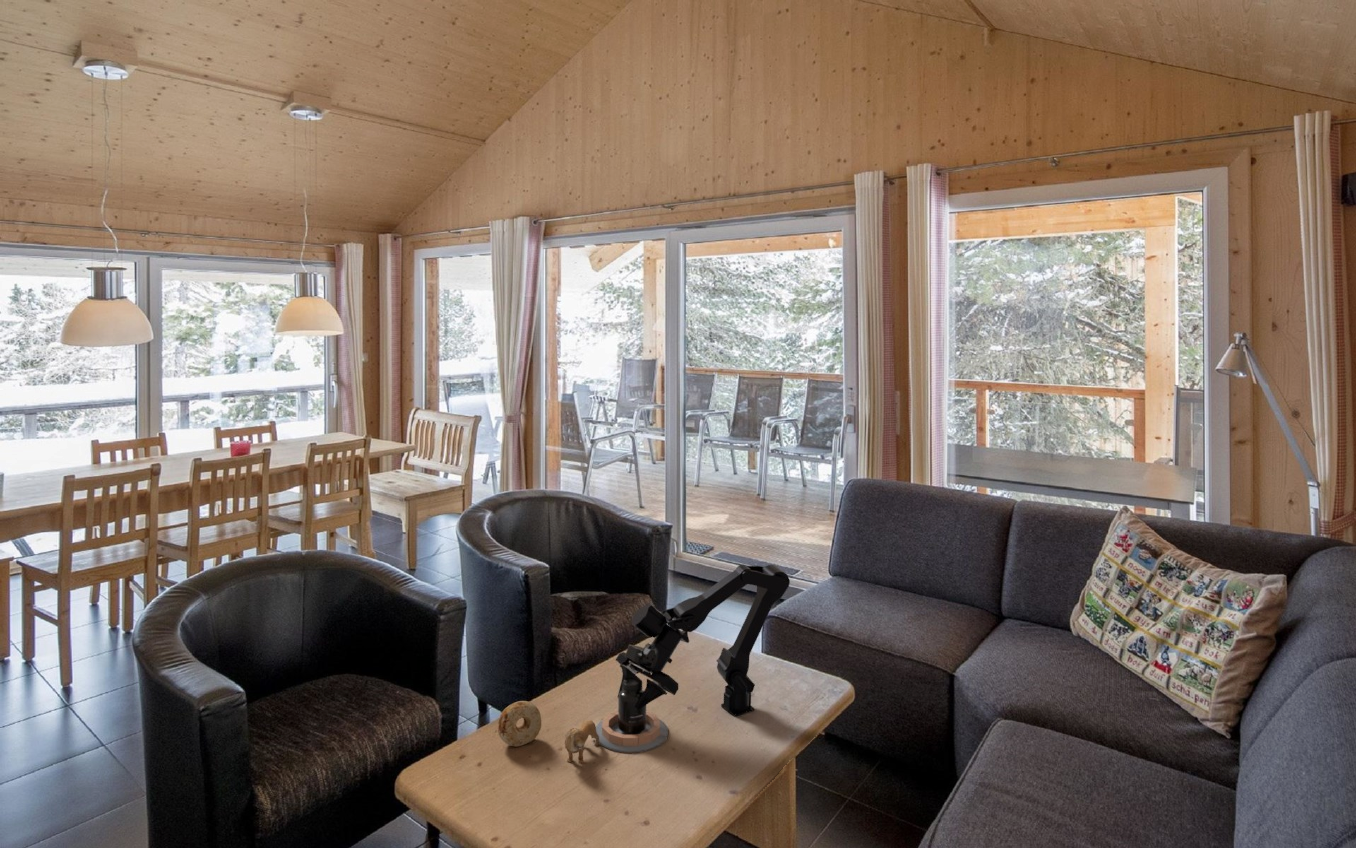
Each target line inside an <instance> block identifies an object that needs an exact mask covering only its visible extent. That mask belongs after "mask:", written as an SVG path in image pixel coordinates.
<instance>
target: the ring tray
mask: <svg viewBox="0 0 1356 848" xmlns="http://www.w3.org/2000/svg"><path fill="white" fill-rule="evenodd" d="M595 726H596V732H597V734H598V736H599V745H600V746H602V748H605V749H607V750H610V751H612V752H617V753H624V754H626V753H627V754H633V753H634V754H635V753H636V754H637V753H643V752H648V751H650V750H654V749H655V748H657V747H660V746H661V745H662V744H663V743H664V742H665V741H666V740H667V739H668V735H669V729H668V726H667V725H666V723H665V722H664V721H663V720H662V719H660V718H659V717H658V716H657V715H655V714H654V713H653V712H650V711H647V710H646V728H645V730H644V731H642V732H640V733H637V734H626V733H623V732H622V731H620V729H619V726H618V711H613V712H610V713H609V714H608V715H607V716H606V717H604V718H603V719H602V720H601V721H599V722H598V723H597V725H595Z"/></svg>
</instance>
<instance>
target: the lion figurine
mask: <svg viewBox="0 0 1356 848" xmlns="http://www.w3.org/2000/svg"><path fill="white" fill-rule="evenodd" d="M596 726H597V725H596V724H595V722H594V721H592V720H586V721H583V722H582V723H581V725H580V726H579V728H575V727H573V728H570V729H569V730H568V731H567V732H566V734H565V740H564V748H565V749H566V750H567V753H568V758H567V759H566V762H567V763H572V762H573V760H574V756H573V754H578V759H577V760H578V763H579V764H583V763H584V762H585V760H584V747H585V744H586V742H587V741H588V738H589V736H591V739H594V740H595V741H594V743H593V744H594V746H599V745H600V744H599V736H598V734H597V732H596Z"/></svg>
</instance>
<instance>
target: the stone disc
mask: <svg viewBox="0 0 1356 848" xmlns="http://www.w3.org/2000/svg"><path fill="white" fill-rule="evenodd" d="M541 716H542V715H541V712H540V709H539V708H538V707H537V705H536V704H534V703H533V702H530V701H527V700H519V701H516V702H513V703H511V704H509V705H508V706H507V707H505V708H504V709H503V710H502V712H501V713H500V716H499V718H498V728H497V729H498V735H499V738H500V739H501V741H503V743H505V744H506V745H508V746H510V747H521V746H524V745H527V744H529V743H532V741H535V739H536V738H537V736H539V734H540V732H541V729H542V717H541ZM521 719H523V722H522V724H521V725H520V726H517V723H518V721H520V720H521Z"/></svg>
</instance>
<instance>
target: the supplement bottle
mask: <svg viewBox="0 0 1356 848" xmlns="http://www.w3.org/2000/svg"><path fill="white" fill-rule="evenodd" d="M639 678H640V677H638V678H633V677H632V678H626V679H624V680H623V686H622V689H623V690H622V691H621V692H620V693H619V692H618V693H619V697H618V696H617V700H618V705H617V707H618V708H617V709H618V726H619V729H620V731H622V732H623V733H626V734H637V733H640V732H642V731H644V730H645V728H646V711H647V705H645V706H644V707H642V708H641V709H639V710H637V709H636V708H635V707H636V705H637V702H638V701H639V699H640V697H641V695H642V694H643V692H644V690H643V680H642V679H641V678H640V679H639Z"/></svg>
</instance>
